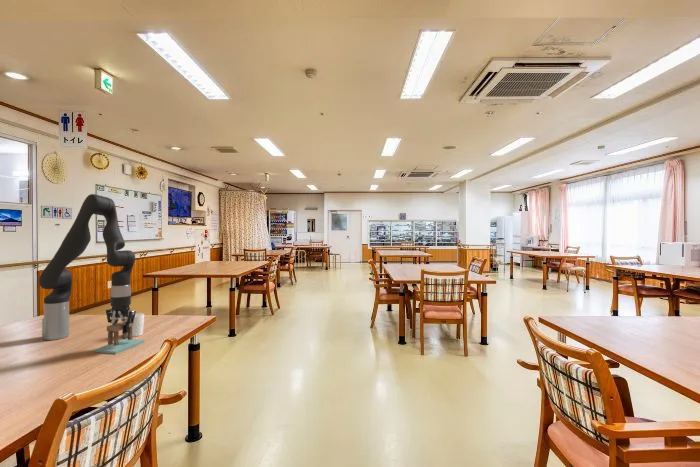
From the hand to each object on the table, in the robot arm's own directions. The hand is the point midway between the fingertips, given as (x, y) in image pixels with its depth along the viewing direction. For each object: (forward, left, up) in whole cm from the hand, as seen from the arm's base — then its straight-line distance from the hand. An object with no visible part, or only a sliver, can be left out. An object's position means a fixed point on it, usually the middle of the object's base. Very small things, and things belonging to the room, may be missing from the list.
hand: (120, 332), depth 148 cm
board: (0, 0, -7) cm, 7 cm away
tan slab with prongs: (0, 0, -4) cm, 4 cm away
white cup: (-8, +16, -7) cm, 19 cm away
